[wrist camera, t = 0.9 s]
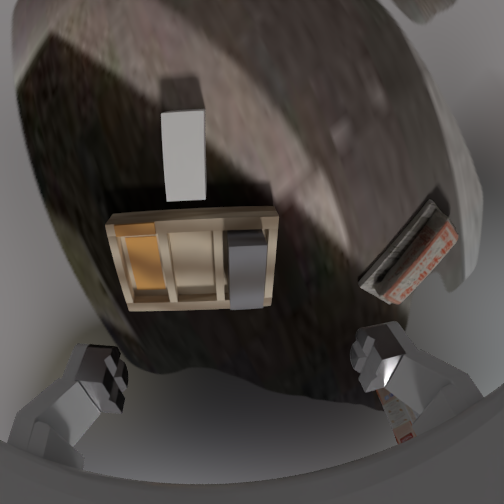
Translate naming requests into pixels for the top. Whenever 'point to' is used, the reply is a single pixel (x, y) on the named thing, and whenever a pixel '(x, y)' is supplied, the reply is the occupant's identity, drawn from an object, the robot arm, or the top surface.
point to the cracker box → (398, 415)
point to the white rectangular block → (184, 154)
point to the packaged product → (411, 255)
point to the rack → (195, 257)
